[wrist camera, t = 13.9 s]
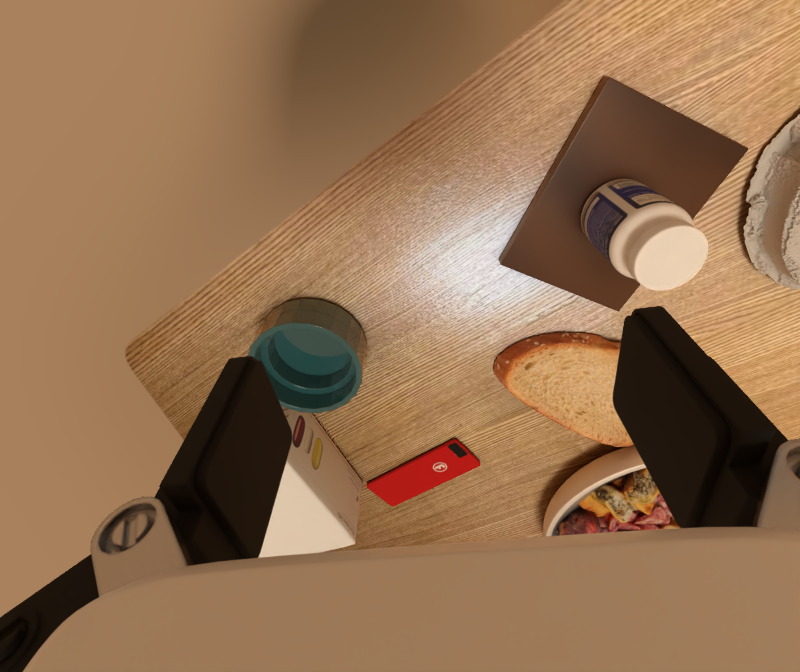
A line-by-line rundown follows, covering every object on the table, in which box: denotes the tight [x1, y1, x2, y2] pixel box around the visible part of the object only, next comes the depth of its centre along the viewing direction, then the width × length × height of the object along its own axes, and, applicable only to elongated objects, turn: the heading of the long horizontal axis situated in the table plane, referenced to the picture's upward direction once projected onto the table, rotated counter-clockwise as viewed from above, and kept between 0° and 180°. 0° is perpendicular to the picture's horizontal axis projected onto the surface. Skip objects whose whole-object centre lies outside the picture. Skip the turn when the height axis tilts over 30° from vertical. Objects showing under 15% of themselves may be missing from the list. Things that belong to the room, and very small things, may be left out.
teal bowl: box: [248, 299, 366, 413], centre depth 45 cm, size 11×11×5 cm
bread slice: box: [493, 332, 634, 447], centre depth 48 cm, size 18×18×4 cm
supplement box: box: [259, 406, 362, 558], centre depth 53 cm, size 17×13×9 cm
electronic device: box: [367, 439, 480, 506], centre depth 58 cm, size 6×1×15 cm
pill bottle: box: [581, 179, 708, 291], centre depth 33 cm, size 6×6×10 cm
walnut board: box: [499, 76, 748, 311], centre depth 37 cm, size 16×13×1 cm
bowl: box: [543, 445, 680, 537], centre depth 57 cm, size 30×30×8 cm
